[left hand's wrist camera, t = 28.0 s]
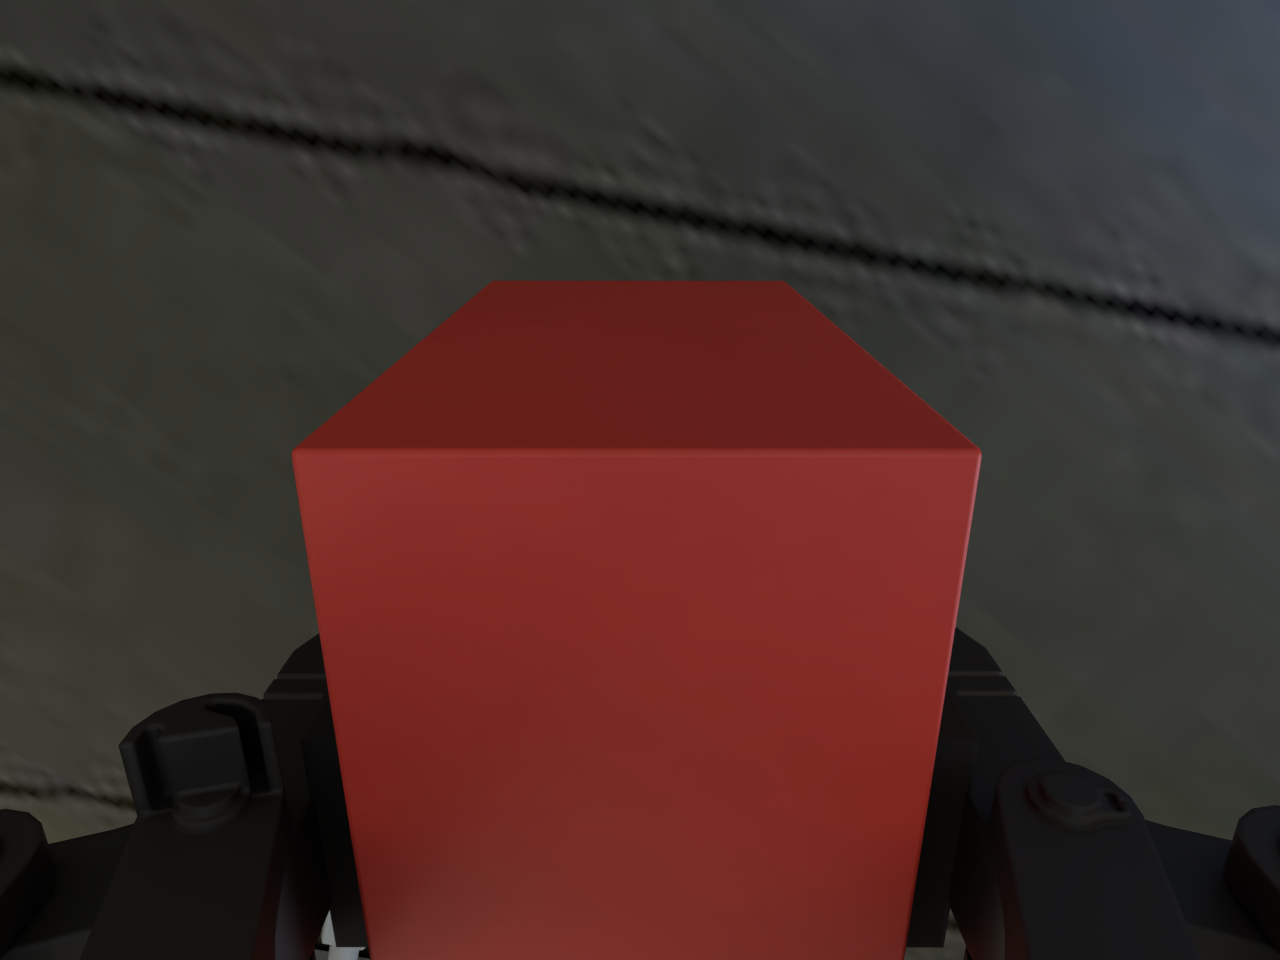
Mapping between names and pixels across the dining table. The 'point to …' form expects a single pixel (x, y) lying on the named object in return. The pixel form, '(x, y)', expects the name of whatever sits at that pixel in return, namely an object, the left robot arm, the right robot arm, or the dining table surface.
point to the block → (637, 627)
